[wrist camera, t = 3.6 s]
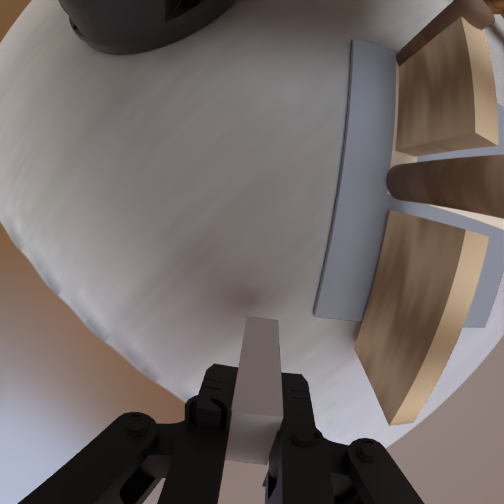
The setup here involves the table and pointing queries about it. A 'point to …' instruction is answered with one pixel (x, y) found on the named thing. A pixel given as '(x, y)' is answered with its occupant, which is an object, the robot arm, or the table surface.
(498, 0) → the lion figurine
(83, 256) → the table surface
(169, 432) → the robot arm
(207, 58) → the table surface
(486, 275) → the card
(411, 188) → the fence post and fixed section
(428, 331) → the hinged fence panel
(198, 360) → the table surface
